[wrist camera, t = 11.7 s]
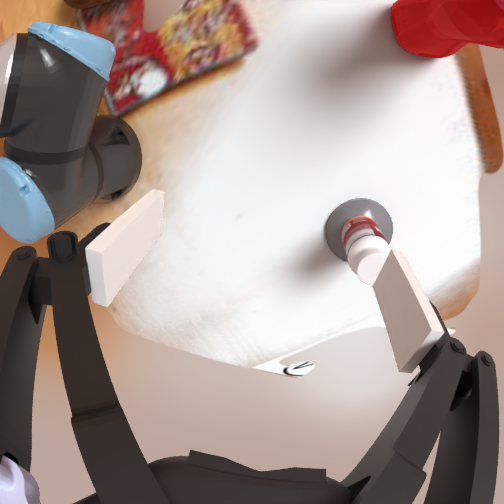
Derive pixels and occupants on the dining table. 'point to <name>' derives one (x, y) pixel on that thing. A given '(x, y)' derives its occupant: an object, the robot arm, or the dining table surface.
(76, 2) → the bread
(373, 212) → the coaster
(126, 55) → the dining table surface
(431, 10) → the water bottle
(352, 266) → the pill bottle
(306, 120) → the dining table surface
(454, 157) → the dining table surface
